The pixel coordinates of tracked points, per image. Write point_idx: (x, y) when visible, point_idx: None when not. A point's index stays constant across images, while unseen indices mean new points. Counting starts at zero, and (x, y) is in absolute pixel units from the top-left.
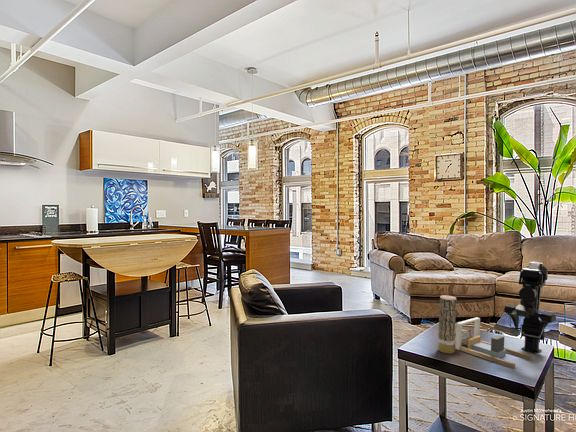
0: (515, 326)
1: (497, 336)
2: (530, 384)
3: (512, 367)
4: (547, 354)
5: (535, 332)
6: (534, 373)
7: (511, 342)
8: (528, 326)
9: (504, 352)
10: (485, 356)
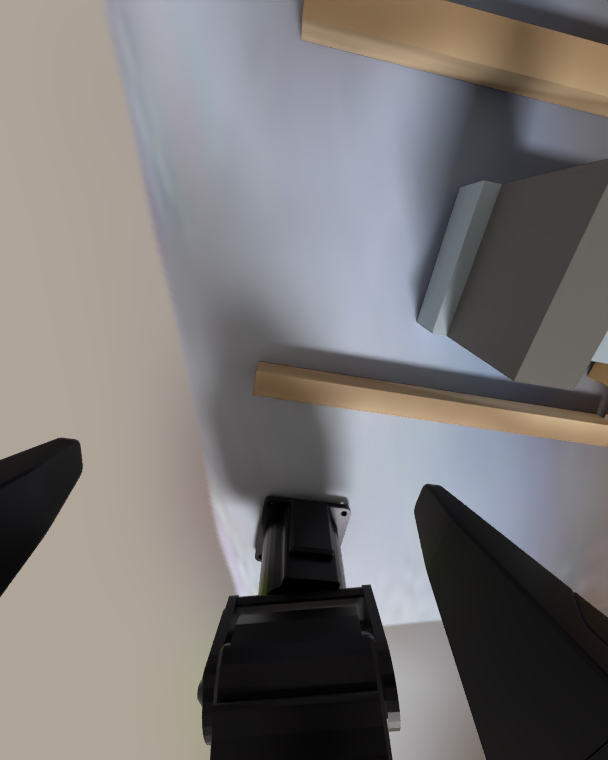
0: (474, 522)
1: (596, 319)
2: None
3: None
4: (220, 528)
5: (258, 638)
6: (139, 24)
7: (411, 569)
8: (325, 695)
9: (432, 308)
10: (582, 48)
